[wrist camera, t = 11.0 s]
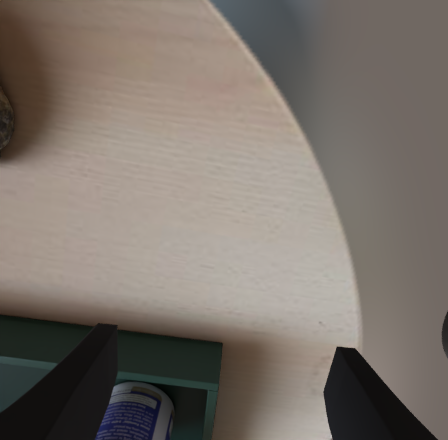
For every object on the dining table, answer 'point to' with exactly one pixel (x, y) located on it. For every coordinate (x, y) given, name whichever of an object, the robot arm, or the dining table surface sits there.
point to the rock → (5, 120)
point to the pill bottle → (137, 414)
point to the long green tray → (127, 367)
